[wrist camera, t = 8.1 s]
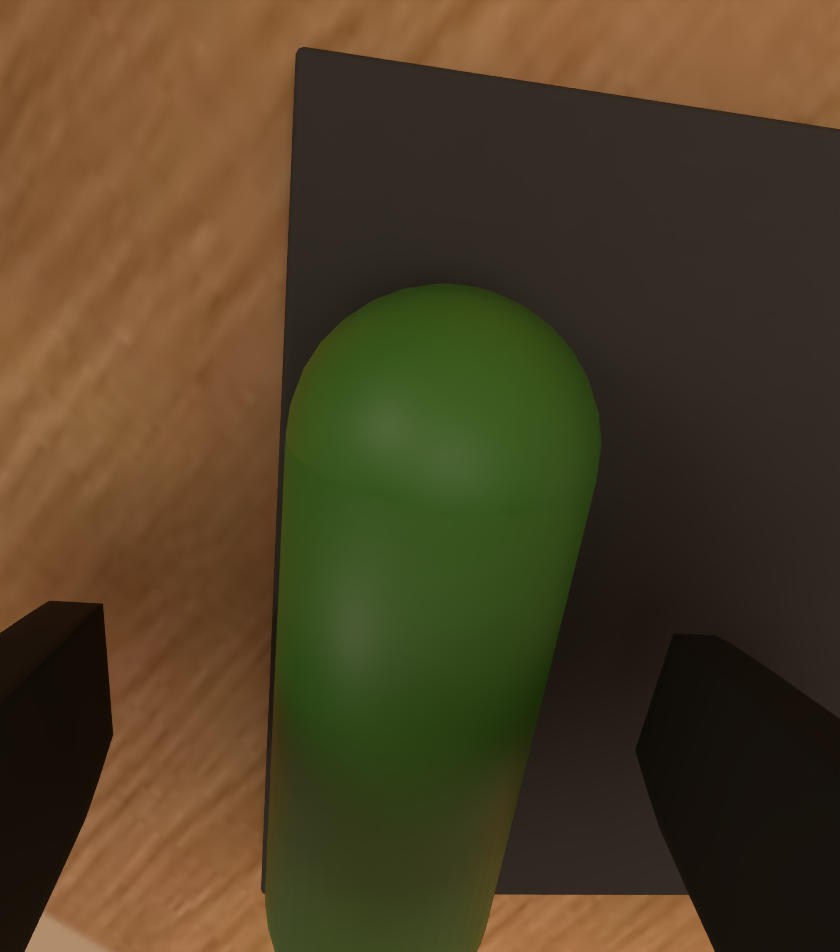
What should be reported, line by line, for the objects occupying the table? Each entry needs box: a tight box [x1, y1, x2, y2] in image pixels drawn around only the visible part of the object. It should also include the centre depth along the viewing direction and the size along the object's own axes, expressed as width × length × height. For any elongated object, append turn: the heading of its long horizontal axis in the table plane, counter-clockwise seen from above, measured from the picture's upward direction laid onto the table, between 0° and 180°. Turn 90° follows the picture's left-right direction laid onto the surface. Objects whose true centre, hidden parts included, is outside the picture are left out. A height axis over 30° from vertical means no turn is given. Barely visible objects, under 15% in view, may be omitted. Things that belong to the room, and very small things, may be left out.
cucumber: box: [265, 283, 601, 952], centre depth 8 cm, size 10×3×3 cm, turn 173°
